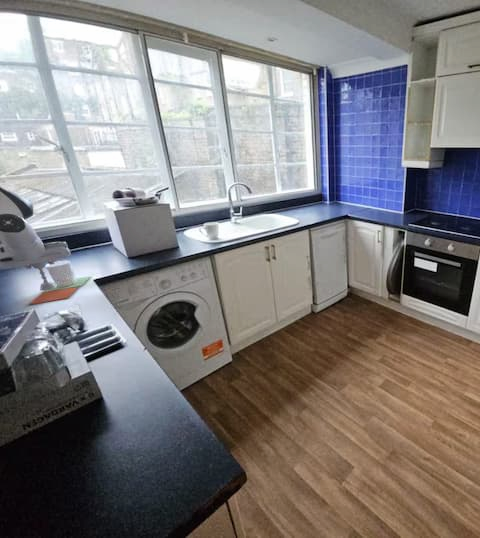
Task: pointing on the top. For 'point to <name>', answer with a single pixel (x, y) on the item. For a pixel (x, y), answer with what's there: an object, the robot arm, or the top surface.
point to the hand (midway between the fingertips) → (40, 265)
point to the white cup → (62, 273)
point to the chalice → (44, 277)
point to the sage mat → (78, 284)
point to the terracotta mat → (54, 295)
